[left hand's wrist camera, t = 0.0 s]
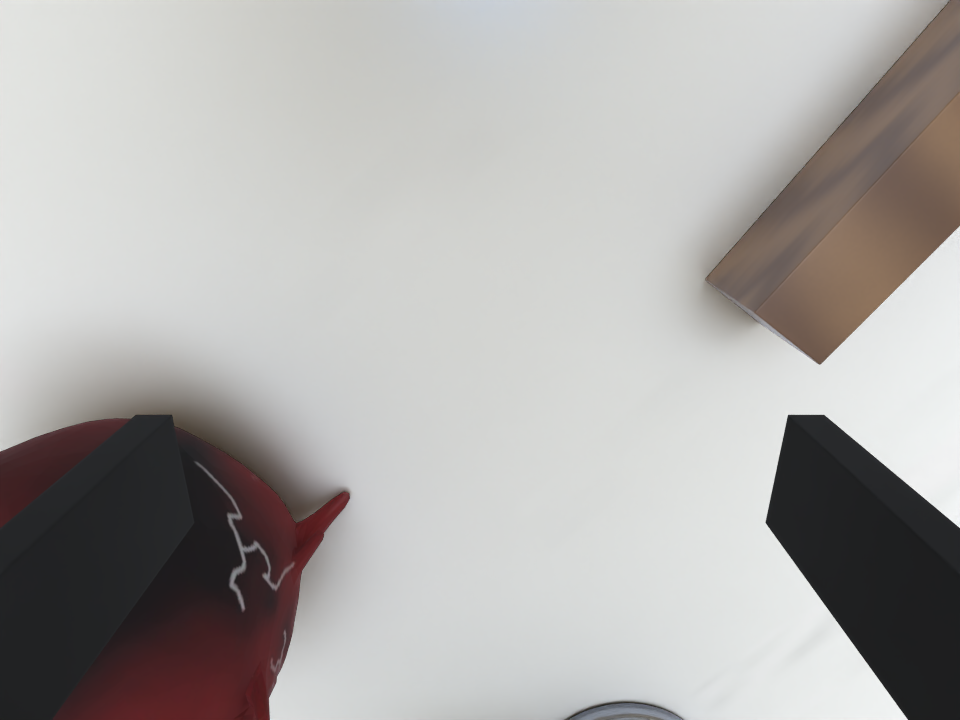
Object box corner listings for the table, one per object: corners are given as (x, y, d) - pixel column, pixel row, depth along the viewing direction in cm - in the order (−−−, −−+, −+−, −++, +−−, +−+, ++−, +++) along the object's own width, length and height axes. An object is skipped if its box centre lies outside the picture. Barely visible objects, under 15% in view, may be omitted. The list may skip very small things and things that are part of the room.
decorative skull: (122, 886, 41) (325, 837, 28) (-317, 802, 31) (-302, 670, 19) (236, 594, 57) (396, 480, 45) (-29, 479, 47) (81, 293, 35)
